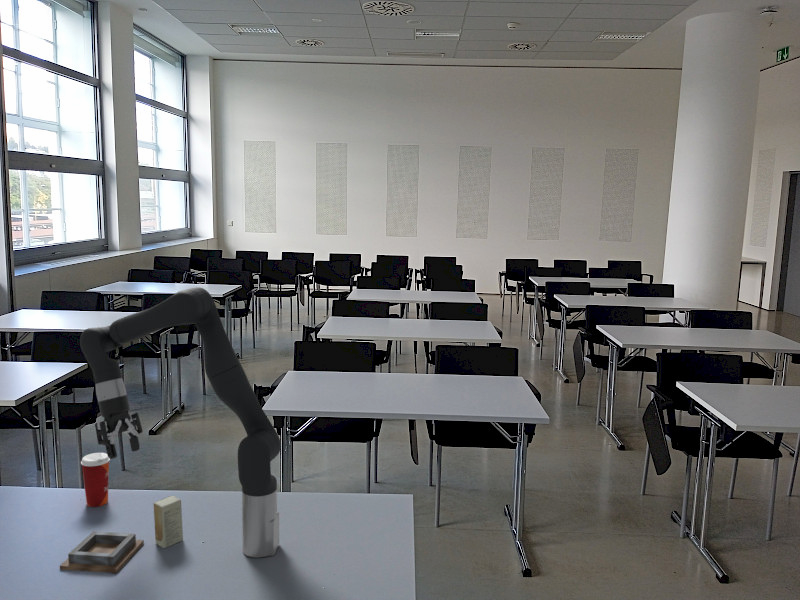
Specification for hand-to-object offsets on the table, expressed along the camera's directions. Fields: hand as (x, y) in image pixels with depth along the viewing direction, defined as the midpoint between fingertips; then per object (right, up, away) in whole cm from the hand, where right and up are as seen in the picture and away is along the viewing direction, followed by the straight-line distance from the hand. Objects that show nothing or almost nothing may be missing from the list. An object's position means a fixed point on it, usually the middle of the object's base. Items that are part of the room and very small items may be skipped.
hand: (124, 454), depth 185 cm
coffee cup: (-18, -21, +23) cm, 36 cm away
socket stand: (-2, -25, -8) cm, 26 cm away
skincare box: (+12, -25, 0) cm, 27 cm away
